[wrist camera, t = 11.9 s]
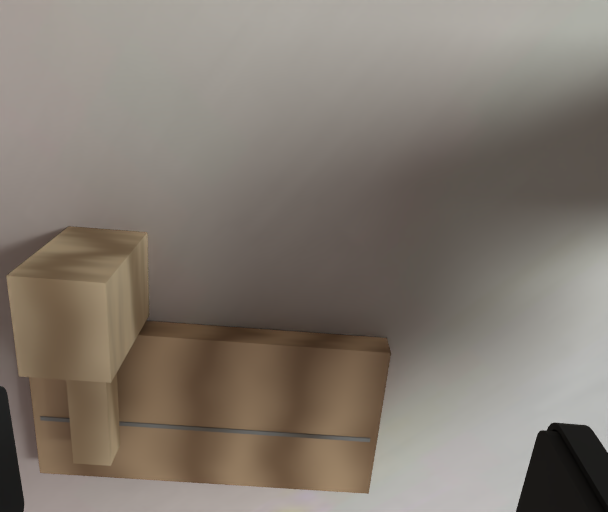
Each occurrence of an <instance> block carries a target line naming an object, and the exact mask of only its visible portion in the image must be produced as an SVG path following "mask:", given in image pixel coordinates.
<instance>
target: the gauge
mask: <svg viewBox="0 0 608 512" xmlns="http://www.w3.org/2000/svg"><path fill="white" fill-rule="evenodd" d="M6 278H7V286H8V294H9V302H10V310H11V318H12V326H13V334H14V342H15V350H16V358H17V366H18V374H19V376H20V377H34V378H49V379H63V380H66V384H67V395H68V407H69V418H70V430H71V441H72V452H73V463H75V464H91V465H106V466H111V464H112V462H113V460H114V458H115V455H116V453H117V451H118V449H119V447H120V429H119V408H118V387H117V371H118V370H119V368H120V366H121V364H122V362H123V361H124V359H125V357H126V355H127V354H128V352H129V350H130V348H131V347H132V345H133V343H134V341H135V339H136V338H137V336H138V334H139V332H140V331H141V329H142V327H143V325H144V324H145V322H146V320H147V318H148V316H149V285H148V241H147V232H136V231H123V230H110V229H97V228H84V227H71V226H69V227H67V228H66V229H65V230H64V231H62V232H61V233H60V234H59V235H57V236H56V237H55V238H53V239H52V240H51V241H50V242H48V243H47V244H46V245H45V246H43V247H42V248H41V249H40V250H38V251H37V252H36V253H34V254H33V255H32V256H31V257H29V258H28V259H27V260H26V261H24V262H23V263H22V264H21V265H19V266H18V267H17V268H15V269H14V270H13V271H12V272H10V273H9V274H8V275H7V276H6Z"/></svg>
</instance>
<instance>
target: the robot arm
mask: <svg viewBox="0 0 608 512" xmlns="http://www.w3.org/2000/svg"><path fill="white" fill-rule="evenodd" d="M23 511H24V498H23V491H22V485H21V479H20V472H19V466H18V460H17V453H16V447H15V441H14V434H13V428H12V422H11V415H10V409H9V403H8V396H7V392H6V389H5V388H4V387H1V386H0V512H23ZM516 512H608V453H607V451H606V450H605V448H604V447H603V445H602V444H601V442H600V441H599V439H598V438H597V436H596V435H595V433H594V432H593V431H592V429H591V428H590V427H588V426H586V425H576V424H564V423H552V424H551V425H550V426H549V427H548V429H547V431H544V430H542V431H540V432H539V433H538V435H537V438H536V442H535V445H534V449H533V452H532V456H531V460H530V463H529V467H528V470H527V474H526V478H525V481H524V485H523V488H522V492H521V496H520V499H519V503H518V506H517V510H516Z"/></svg>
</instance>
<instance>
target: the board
mask: <svg viewBox="0 0 608 512" xmlns="http://www.w3.org/2000/svg"><path fill="white" fill-rule="evenodd" d="M390 356H391V352H390V348H389V344H388V341H387V338H381V337H367V336H353V335H339V334H325V333H311V332H297V331H283V330H269V329H255V328H241V327H227V326H213V325H199V324H185V323H171V322H157V321H146V322H145V324H144V325H143V327H142V329H141V331H140V332H139V334H138V336H137V338H136V339H135V341H134V343H133V345H132V347H131V348H130V350H129V352H128V354H127V355H126V357H125V359H124V361H123V362H122V364H121V366H120V368H119V370H118V371H117V387H118V408H119V429H120V447H119V449H118V451H117V453H116V455H115V458H114V460H113V462H112V464H111V466H106V465H91V464H75V463H73V452H72V441H71V430H70V418H69V407H68V395H67V384H66V380H63V379H49V378H34V377H29V382H30V390H31V399H32V407H33V416H34V424H35V433H36V442H37V450H38V459H39V467H40V473H50V474H66V475H82V476H98V477H114V478H130V479H146V480H162V481H177V482H193V483H209V484H225V485H241V486H257V487H273V488H289V489H305V490H320V491H336V492H352V493H368V494H369V487H370V481H371V475H372V468H373V462H374V456H375V450H376V443H377V437H378V431H379V425H380V418H381V412H382V406H383V400H384V393H385V387H386V381H387V374H388V368H389V362H390Z"/></svg>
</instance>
